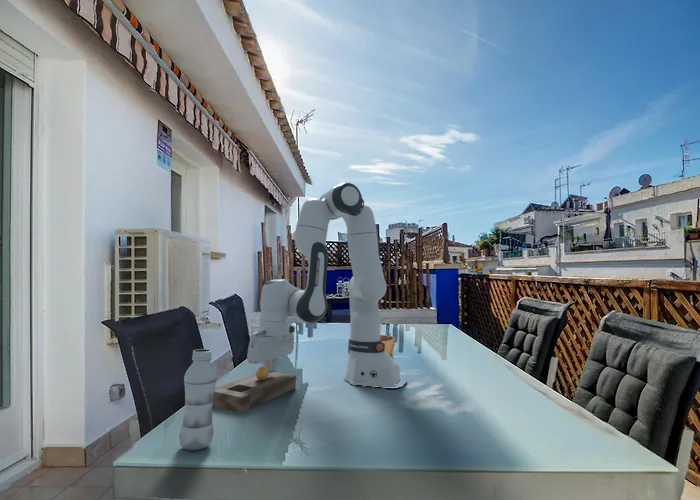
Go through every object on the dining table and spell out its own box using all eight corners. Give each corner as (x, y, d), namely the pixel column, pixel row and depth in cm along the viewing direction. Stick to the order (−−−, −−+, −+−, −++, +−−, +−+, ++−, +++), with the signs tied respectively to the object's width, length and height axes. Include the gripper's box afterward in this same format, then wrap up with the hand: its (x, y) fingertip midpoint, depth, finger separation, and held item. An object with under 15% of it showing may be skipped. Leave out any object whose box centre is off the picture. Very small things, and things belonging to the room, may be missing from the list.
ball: (271, 379, 117) (271, 366, 118) (263, 382, 114) (263, 369, 114) (260, 377, 119) (261, 364, 119) (252, 380, 115) (253, 367, 116)
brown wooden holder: (295, 388, 123) (295, 375, 123) (241, 413, 99) (242, 397, 99) (265, 382, 128) (266, 370, 128) (207, 405, 104) (208, 390, 104)
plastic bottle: (184, 440, 82) (190, 347, 83) (216, 440, 82) (222, 348, 84) (173, 454, 75) (180, 353, 77) (208, 454, 76) (214, 354, 77)
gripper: (260, 333, 111) (257, 381, 110) (298, 326, 129) (296, 367, 128) (243, 331, 114) (240, 378, 113) (282, 325, 132) (280, 365, 131)
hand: (270, 372), depth 121 cm, fingers closed
